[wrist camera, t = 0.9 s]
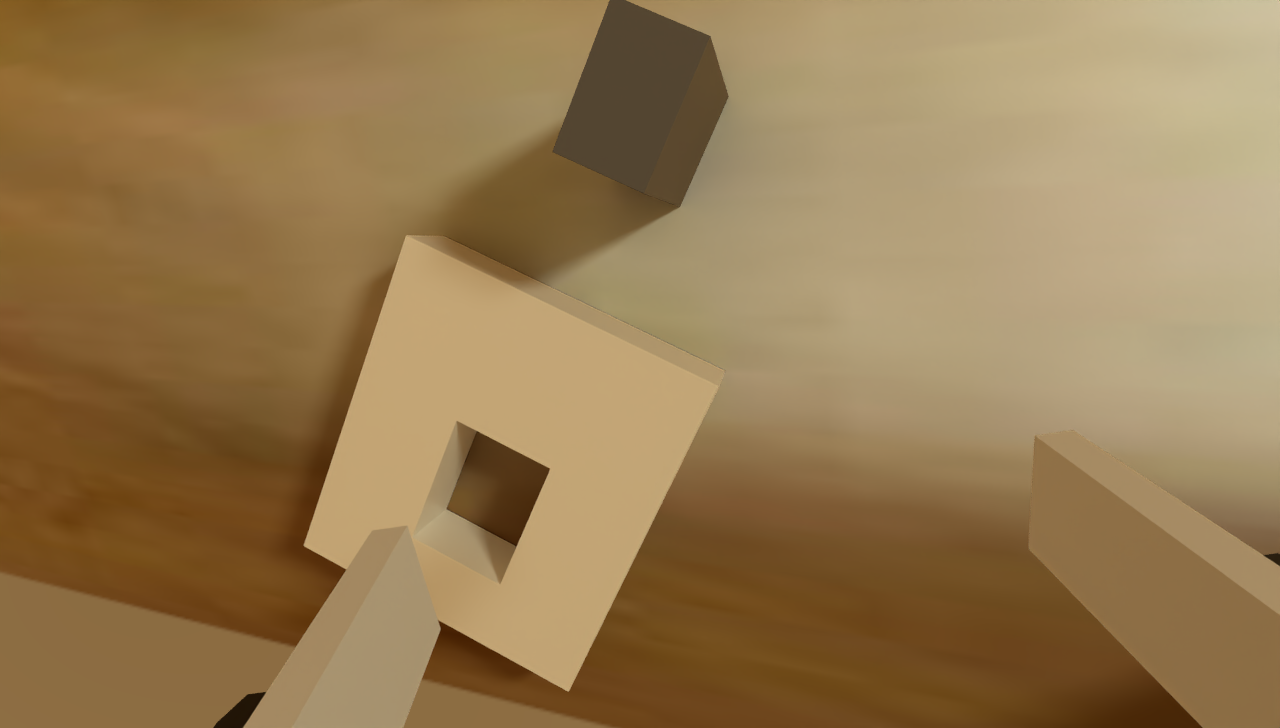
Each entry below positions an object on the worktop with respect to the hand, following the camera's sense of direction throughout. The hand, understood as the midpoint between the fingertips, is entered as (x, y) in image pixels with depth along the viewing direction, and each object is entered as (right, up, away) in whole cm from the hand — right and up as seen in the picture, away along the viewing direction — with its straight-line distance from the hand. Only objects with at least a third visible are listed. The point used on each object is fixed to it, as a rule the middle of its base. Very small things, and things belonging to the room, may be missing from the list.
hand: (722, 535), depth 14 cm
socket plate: (-9, -2, +25) cm, 27 cm away
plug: (0, +16, +20) cm, 26 cm away
